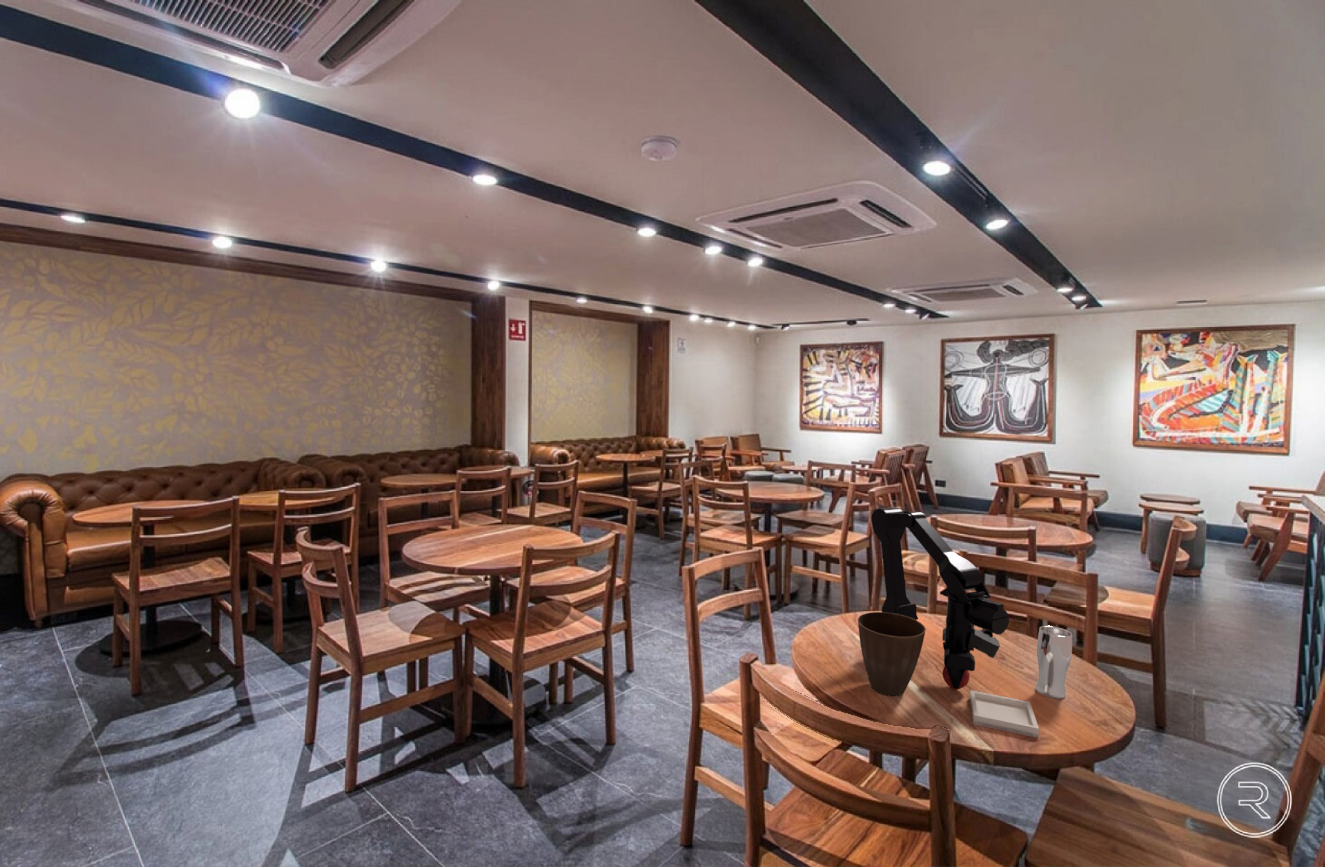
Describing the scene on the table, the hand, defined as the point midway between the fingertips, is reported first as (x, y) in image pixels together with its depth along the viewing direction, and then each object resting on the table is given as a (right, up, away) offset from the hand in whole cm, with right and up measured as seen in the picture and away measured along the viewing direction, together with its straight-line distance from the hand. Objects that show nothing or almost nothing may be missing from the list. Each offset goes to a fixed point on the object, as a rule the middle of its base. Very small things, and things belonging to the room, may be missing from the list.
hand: (955, 682), depth 148 cm
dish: (+5, -3, -12) cm, 13 cm away
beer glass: (+23, -3, 0) cm, 23 cm away
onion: (0, -2, 0) cm, 2 cm away
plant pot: (-16, -2, 0) cm, 16 cm away
